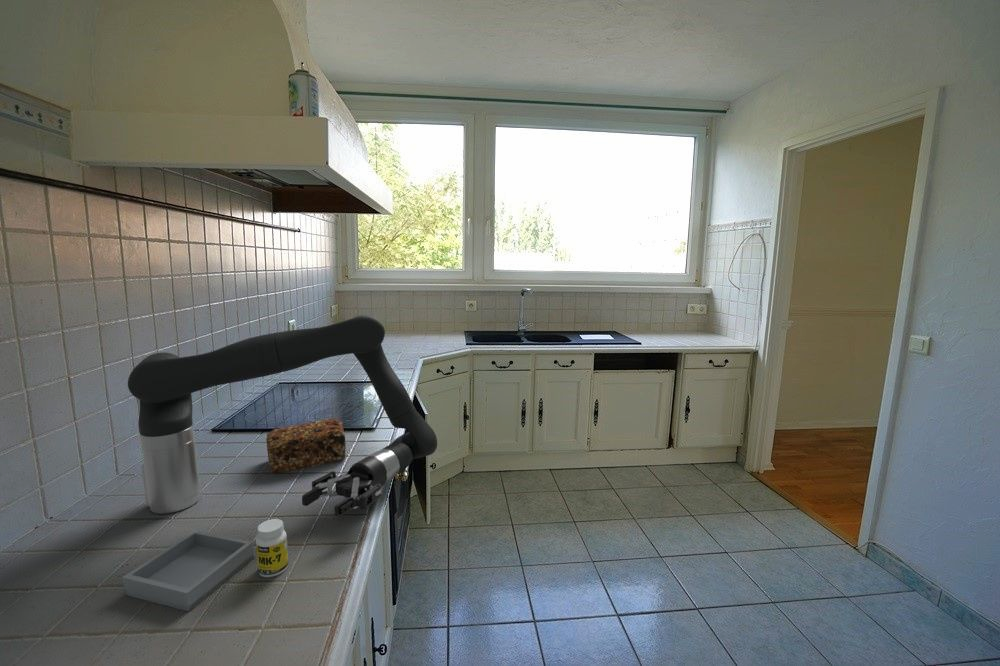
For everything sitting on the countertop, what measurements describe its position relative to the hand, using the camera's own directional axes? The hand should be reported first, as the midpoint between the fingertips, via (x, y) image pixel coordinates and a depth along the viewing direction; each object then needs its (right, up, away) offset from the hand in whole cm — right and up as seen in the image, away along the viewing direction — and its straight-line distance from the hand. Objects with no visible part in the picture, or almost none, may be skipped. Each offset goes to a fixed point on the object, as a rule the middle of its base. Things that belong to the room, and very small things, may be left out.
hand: (319, 506), depth 88 cm
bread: (-16, -1, +33) cm, 37 cm away
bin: (-17, -8, -10) cm, 22 cm away
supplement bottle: (-5, -8, -8) cm, 12 cm away
